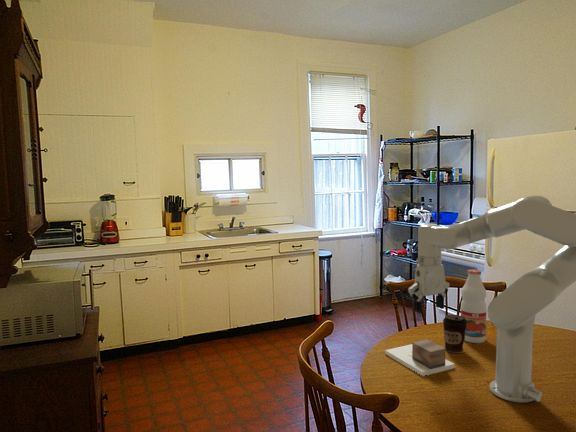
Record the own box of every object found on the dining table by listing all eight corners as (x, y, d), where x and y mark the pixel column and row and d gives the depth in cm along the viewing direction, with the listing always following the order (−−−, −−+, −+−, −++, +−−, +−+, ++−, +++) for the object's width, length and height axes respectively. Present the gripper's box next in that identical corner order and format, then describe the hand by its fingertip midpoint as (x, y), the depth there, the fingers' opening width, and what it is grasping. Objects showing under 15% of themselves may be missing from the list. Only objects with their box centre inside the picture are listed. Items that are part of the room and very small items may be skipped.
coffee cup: (462, 357, 156) (463, 322, 154) (439, 351, 161) (439, 318, 159) (468, 349, 162) (469, 315, 161) (446, 344, 167) (447, 311, 166)
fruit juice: (484, 336, 175) (486, 268, 172) (486, 344, 166) (488, 273, 163) (459, 333, 178) (461, 267, 176) (460, 342, 169) (461, 272, 167)
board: (454, 368, 147) (454, 363, 147) (422, 376, 141) (422, 372, 141) (414, 347, 165) (414, 343, 165) (385, 354, 159) (385, 350, 159)
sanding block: (445, 365, 146) (445, 348, 145) (430, 369, 143) (430, 352, 143) (426, 355, 154) (426, 339, 153) (412, 358, 151) (412, 342, 151)
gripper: (416, 265, 138) (416, 316, 140) (457, 260, 145) (456, 309, 147) (401, 261, 145) (401, 310, 147) (441, 256, 152) (440, 303, 154)
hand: (428, 309), depth 147 cm, fingers open, 9 cm apart
